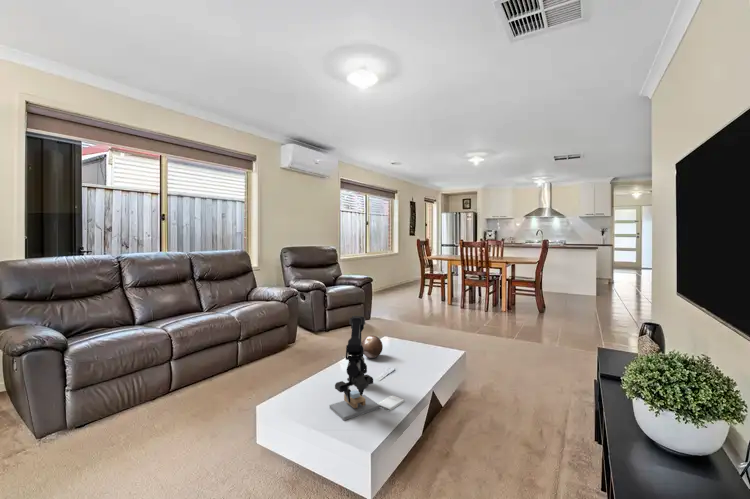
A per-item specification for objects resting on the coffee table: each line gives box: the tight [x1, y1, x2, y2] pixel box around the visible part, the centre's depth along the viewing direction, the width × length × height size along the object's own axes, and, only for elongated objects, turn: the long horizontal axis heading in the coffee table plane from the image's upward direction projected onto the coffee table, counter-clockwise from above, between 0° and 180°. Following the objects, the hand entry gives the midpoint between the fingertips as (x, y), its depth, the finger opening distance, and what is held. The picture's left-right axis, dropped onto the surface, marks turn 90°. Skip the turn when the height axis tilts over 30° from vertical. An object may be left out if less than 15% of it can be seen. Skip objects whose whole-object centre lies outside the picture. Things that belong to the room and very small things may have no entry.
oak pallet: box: [343, 393, 365, 408], centre depth 167 cm, size 6×10×3 cm, turn 34°
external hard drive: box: [377, 394, 405, 412], centre depth 172 cm, size 2×8×12 cm
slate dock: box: [329, 394, 381, 421], centre depth 167 cm, size 20×14×2 cm
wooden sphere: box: [362, 335, 383, 359], centre depth 239 cm, size 15×15×15 cm
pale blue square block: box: [350, 389, 360, 399], centre depth 167 cm, size 4×4×2 cm
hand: (354, 400), depth 167 cm, fingers closed on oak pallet, 6 cm apart
